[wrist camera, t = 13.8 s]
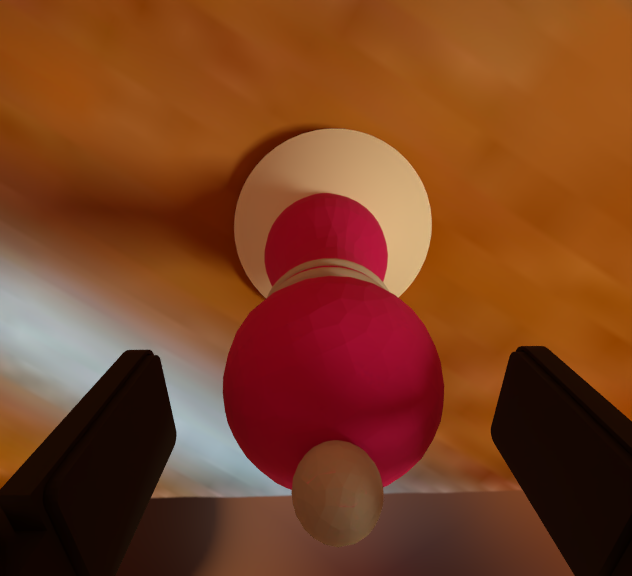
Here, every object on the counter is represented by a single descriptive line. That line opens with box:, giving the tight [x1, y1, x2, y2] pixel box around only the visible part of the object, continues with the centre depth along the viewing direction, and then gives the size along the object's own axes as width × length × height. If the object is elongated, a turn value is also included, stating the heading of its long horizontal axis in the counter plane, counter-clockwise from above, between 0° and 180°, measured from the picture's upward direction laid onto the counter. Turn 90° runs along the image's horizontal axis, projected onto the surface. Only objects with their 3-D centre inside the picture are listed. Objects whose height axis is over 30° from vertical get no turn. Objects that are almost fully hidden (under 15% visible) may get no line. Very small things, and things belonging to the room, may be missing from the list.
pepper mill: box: [223, 193, 444, 547], centre depth 15 cm, size 7×7×20 cm
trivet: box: [234, 129, 432, 299], centre depth 25 cm, size 14×14×2 cm
